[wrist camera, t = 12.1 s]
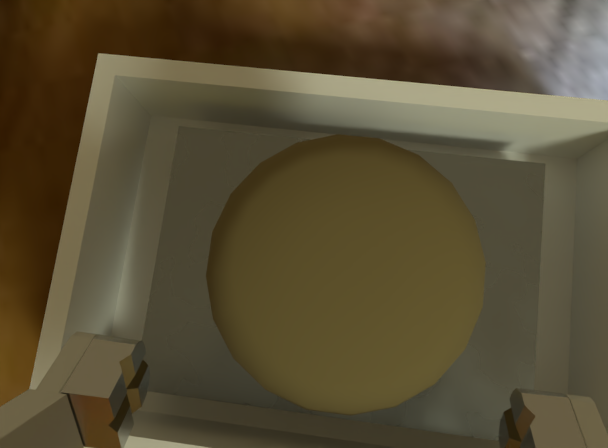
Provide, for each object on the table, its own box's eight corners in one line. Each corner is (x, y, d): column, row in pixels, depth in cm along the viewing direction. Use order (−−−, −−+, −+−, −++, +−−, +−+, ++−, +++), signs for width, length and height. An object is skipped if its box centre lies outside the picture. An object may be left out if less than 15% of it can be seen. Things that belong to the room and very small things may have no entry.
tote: (86, 417, 23) (18, 445, 18) (144, 105, 25) (98, 53, 20) (573, 489, 21) (647, 540, 16) (586, 150, 23) (653, 104, 18)
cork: (361, 409, 19) (405, 550, 8) (221, 311, 19) (85, 315, 9) (453, 265, 19) (611, 211, 8) (313, 176, 20) (294, 21, 9)
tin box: (155, 381, 22) (133, 389, 19) (195, 146, 23) (179, 126, 21) (507, 430, 21) (531, 445, 18) (522, 180, 22) (545, 163, 20)
